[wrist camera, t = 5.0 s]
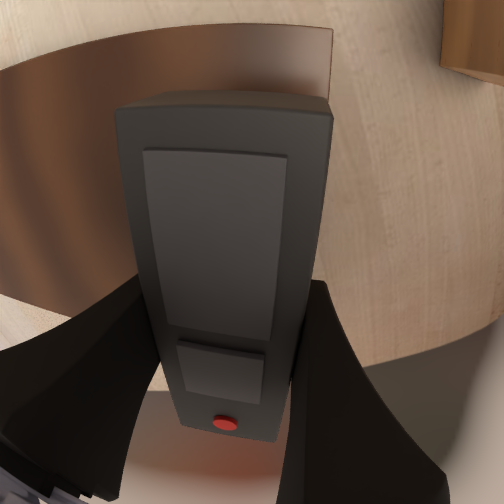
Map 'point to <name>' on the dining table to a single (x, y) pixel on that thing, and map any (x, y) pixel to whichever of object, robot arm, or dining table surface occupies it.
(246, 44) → the box
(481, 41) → the stand
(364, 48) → the dining table surface
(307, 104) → the remote
